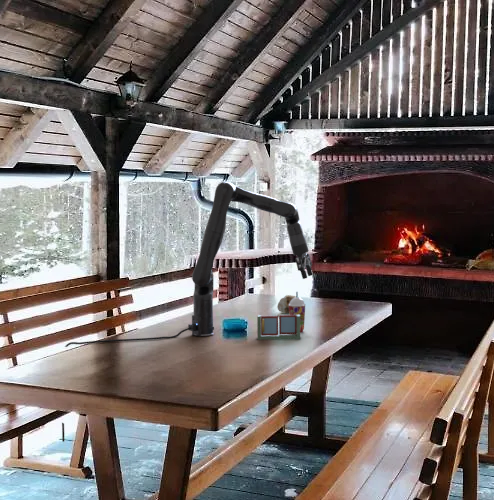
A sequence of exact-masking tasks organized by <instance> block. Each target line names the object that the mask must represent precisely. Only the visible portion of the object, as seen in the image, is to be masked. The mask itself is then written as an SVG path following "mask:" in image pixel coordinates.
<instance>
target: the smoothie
mask: <svg viewBox="0 0 494 500" xmlns="http://www.w3.org/2000/svg"><path fill="white" fill-rule="evenodd" d="M295 293H296V295H295V296H296V297H295V298H293V299H292V300H291V301H290V303H289V304H288V305H289V313H288V315H300V334H301V333H303V332H304V330H305V319H306V303H305V301H304V299H302V298H301V297H299V295H298V294H299V292H298V291H296V292H295Z"/></svg>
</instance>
